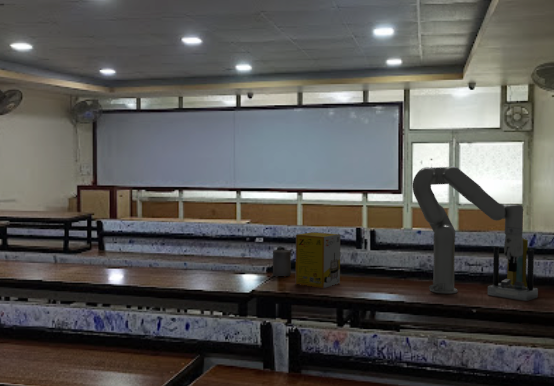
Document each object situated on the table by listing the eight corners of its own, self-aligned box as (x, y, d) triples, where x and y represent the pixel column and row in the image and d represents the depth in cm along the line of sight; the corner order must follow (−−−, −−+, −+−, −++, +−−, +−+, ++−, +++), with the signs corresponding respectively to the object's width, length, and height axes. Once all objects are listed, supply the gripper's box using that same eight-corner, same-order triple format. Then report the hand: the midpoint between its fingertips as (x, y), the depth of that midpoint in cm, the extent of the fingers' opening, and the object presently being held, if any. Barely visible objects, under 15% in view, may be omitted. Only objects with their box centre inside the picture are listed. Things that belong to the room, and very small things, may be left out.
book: (526, 293, 277) (527, 240, 277) (511, 292, 279) (512, 239, 278) (519, 286, 294) (520, 236, 293) (505, 286, 295) (506, 236, 294)
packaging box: (312, 279, 308) (313, 232, 307) (339, 283, 299) (340, 234, 298) (295, 284, 295) (295, 234, 294) (323, 288, 286) (324, 236, 285)
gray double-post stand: (526, 301, 259) (527, 251, 259) (487, 294, 272) (487, 247, 272) (538, 297, 268) (539, 249, 267) (498, 291, 281) (499, 245, 280)
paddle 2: (519, 285, 265) (520, 281, 266) (514, 284, 267) (514, 281, 267) (523, 286, 268) (524, 282, 269) (518, 285, 270) (518, 281, 270)
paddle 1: (506, 285, 270) (506, 282, 269) (501, 285, 272) (501, 281, 271) (510, 282, 273) (510, 279, 272) (505, 282, 274) (505, 278, 274)
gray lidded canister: (284, 273, 326) (284, 246, 326) (294, 276, 318) (294, 248, 318) (269, 275, 321) (269, 248, 321) (279, 278, 313) (278, 249, 313)
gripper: (514, 233, 261) (513, 274, 262) (528, 231, 272) (527, 270, 272) (498, 231, 267) (497, 272, 267) (512, 229, 277) (511, 268, 278)
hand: (512, 271), depth 270 cm, fingers closed
